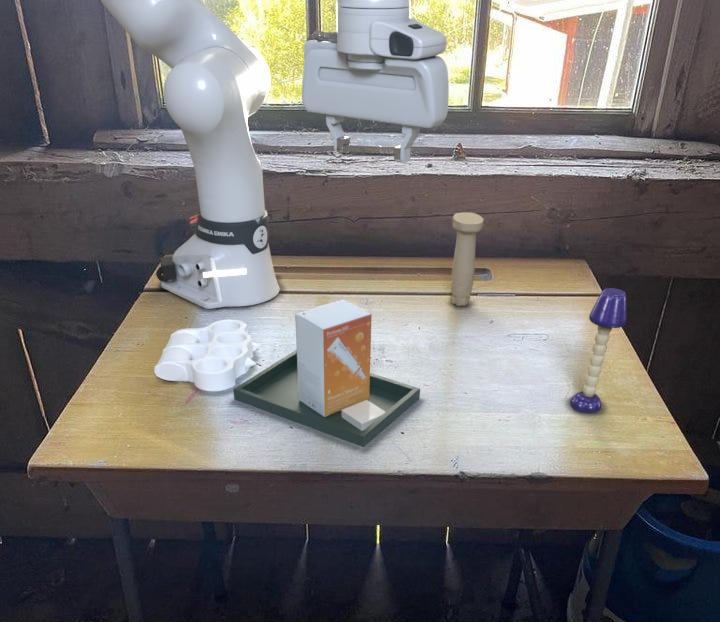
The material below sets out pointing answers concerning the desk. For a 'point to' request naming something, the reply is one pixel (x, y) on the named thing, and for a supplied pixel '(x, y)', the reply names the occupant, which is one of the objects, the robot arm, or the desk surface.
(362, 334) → the small box
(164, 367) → the white brass knuckles
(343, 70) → the robot arm
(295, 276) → the desk surface
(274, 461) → the desk surface
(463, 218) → the handle
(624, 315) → the toy lamp
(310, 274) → the desk surface
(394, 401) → the tray
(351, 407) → the chalk block
